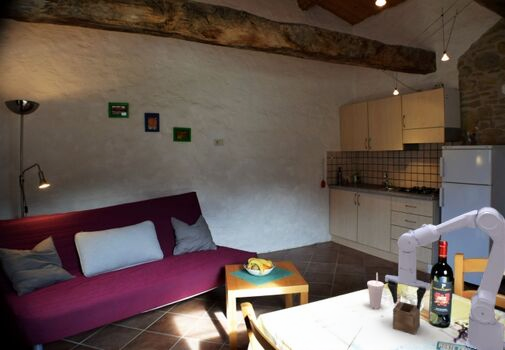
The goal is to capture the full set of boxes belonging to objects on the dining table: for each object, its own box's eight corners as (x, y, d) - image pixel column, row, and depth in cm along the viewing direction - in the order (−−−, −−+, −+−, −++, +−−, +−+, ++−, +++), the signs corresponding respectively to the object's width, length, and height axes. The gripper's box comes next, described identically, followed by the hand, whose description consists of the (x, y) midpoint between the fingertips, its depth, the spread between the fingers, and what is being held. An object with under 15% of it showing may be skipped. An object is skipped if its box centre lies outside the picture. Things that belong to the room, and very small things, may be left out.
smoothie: (385, 311, 131) (385, 276, 131) (368, 309, 133) (368, 275, 132) (382, 303, 138) (382, 270, 137) (365, 302, 139) (366, 269, 138)
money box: (419, 325, 120) (420, 306, 120) (414, 334, 114) (414, 314, 113) (399, 319, 124) (399, 301, 124) (392, 328, 118) (393, 309, 118)
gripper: (432, 268, 117) (431, 306, 117) (389, 260, 125) (388, 296, 126) (428, 274, 111) (427, 314, 112) (383, 265, 120) (383, 302, 121)
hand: (406, 305), depth 119 cm, fingers open, 7 cm apart
